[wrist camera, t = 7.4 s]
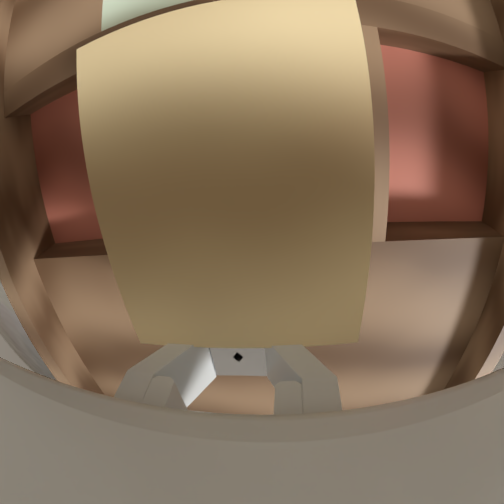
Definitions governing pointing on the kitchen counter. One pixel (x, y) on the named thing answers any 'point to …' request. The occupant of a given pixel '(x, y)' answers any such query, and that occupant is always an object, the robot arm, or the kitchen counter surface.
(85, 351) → the box
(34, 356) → the kitchen counter surface
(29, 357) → the kitchen counter surface
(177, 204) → the maple block
